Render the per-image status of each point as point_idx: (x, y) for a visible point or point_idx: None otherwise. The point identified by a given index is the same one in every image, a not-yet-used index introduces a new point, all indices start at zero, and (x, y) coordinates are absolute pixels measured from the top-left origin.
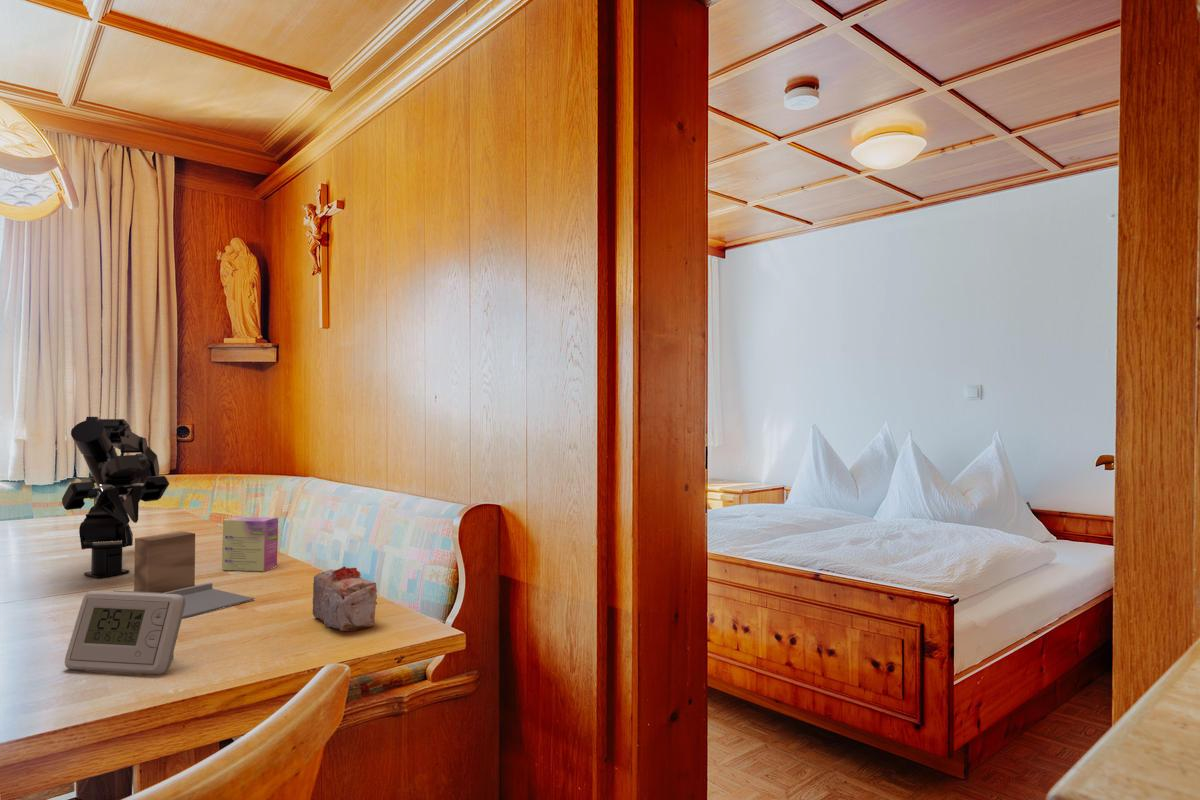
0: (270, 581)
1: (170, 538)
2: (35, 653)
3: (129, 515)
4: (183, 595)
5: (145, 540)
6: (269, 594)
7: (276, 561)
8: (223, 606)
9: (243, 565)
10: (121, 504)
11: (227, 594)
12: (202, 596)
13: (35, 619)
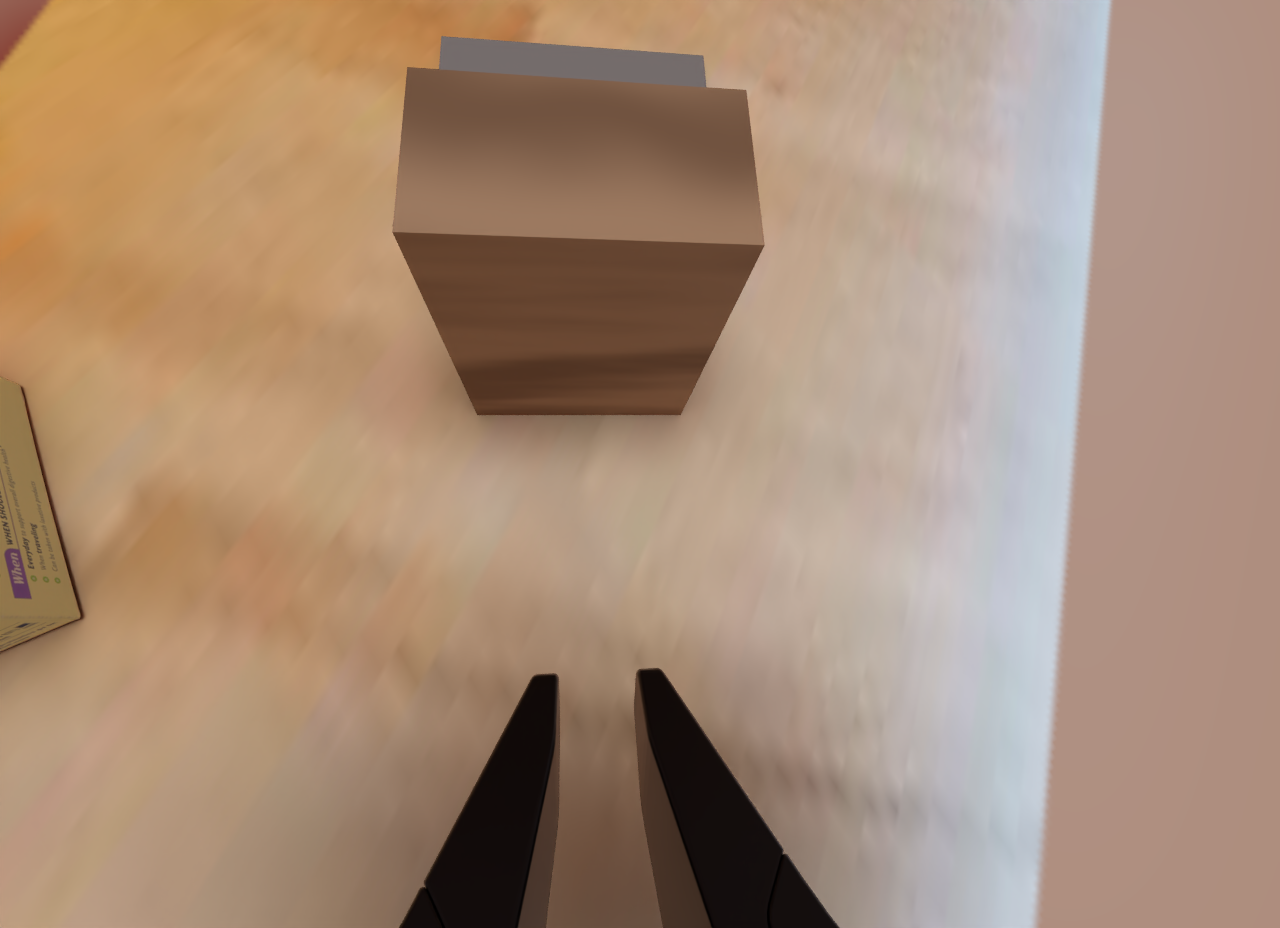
0: (184, 205)
1: (597, 88)
2: (1052, 109)
3: (545, 914)
4: None
5: (749, 125)
6: (356, 60)
7: None
8: (562, 47)
9: (18, 484)
10: (735, 925)
11: None
12: None
13: (1005, 431)
